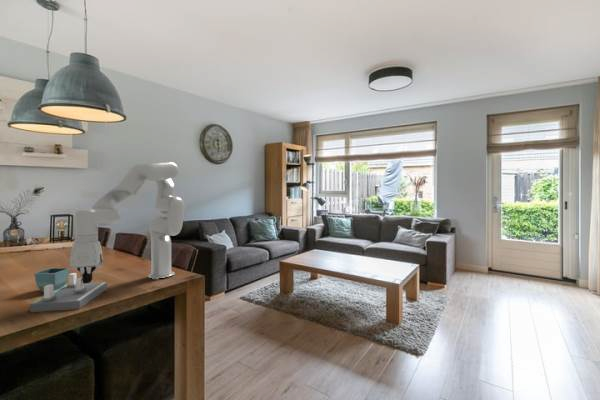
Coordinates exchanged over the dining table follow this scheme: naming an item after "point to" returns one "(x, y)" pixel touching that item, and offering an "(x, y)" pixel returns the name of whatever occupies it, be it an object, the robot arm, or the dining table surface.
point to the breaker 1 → (48, 293)
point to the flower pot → (52, 278)
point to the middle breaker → (79, 285)
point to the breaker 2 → (72, 280)
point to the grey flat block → (69, 298)
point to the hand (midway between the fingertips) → (87, 282)
